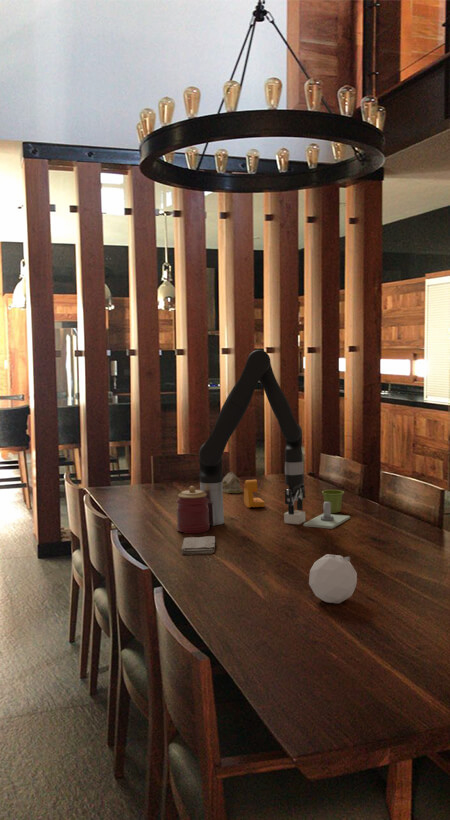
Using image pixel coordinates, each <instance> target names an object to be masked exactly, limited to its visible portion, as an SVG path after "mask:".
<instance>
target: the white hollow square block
mask: <svg viewBox="0 0 450 820" xmlns="http://www.w3.org/2000/svg"><path fill="white" fill-rule="evenodd" d="M283 516H284V517H283V519H284V520H283V521H284V522H283V523H284V524H289V525H290V524H291V525H301V524H304V523H306V511H305V510H294V514H293V515H291V514H289V513H288V511H287V512H284V514H283Z"/></svg>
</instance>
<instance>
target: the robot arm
mask: <svg viewBox="0 0 450 820" xmlns="http://www.w3.org/2000/svg"><path fill="white" fill-rule="evenodd" d="M271 363H272V362H271V357H270V355H269V354H268V353H267V351H265V350H262V349H256V350H253V351H252V352H250V353H249V355H248V357H247V359H246V363H245V365H244V367H243V370H242V372H241V375H240V377H239V378H238V380H237V382H236V383H235V385H234V386H233V387H232V389H231V391H230V392H229V394H228V395H227V397H226V399H225V401H224V403H223V405H222V407H221V409H220V411H219V413H218V416H217V419H216V422H215V424H214V428H213V430H212V432H211V433H210V435H209V437H208V439H206V441H205V442H204V443H203V444H202V445H201V446H200V447H199V452H198V462H199V486H200V487H199V490H201V491H203V492H204V493H206V494H207V495H206V498H208V499H209V502H208V507H209V523H210V525H211V526H212V527H214V526H219V525H223V524H224V522H225V521H224V520H225V518H224V516H225V515H224V514H225V513H224V493H223V478H224V476H223V455H224V452H225V449H226V447H227V445H228V442H229V439H231V437H232V436H233V434H234V432H235V430H236V429H237V428H238V426H239V424H240V422H241V420H242V419H243V418H244V415H245V414H246V411H247V410H248V408H249V405H250V402H251V401H252V398H253V395H254V393H255V389H256V387H257V385H258V384H259V382H260V384H261V386H262V389H263V390H264V394H265V396H266V398H267V401H268V403H269V406H270V408H271V410H272V413H273V415H274V416H275V418H276V420H277V423H278V425H279V428H280V431H281V434H282V435H283V438H284V439H285V448H284V483H285V485H286V486H288V489H284V504H285V505H287V512H288V513H289V514H291V515H293V514H294V511H295V505H294V504H295V502H296V509H297V510H296V511H304V510H303V508H304V507H303V501H304V499H305V498H306V492H305V491H306V490H305V489H306V488H305V484H304V483H305V478H304V477H305V476H304V474H305V473H304V462H303V449H302V445H303V430H302V427H301V425H299V424H298V423H297V422H296V420H295V419H296V418H295V417H294V415H293V414H294V413H293V410H292V408H291V406H290V403H289V401H288V399H287V397H286V396H285V393H284V392H283V390H282V388H281V387H280V384H279V383H278V380H277V378H276V376H275V374H274V371H273V367H272V364H271ZM211 526H210V527H211Z"/></svg>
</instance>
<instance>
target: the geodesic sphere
mask: <svg viewBox="0 0 450 820" xmlns="http://www.w3.org/2000/svg"><path fill="white" fill-rule="evenodd" d="M350 561H351V556H345V557H343V555H339V554H337V555H336V554H327V553H326V554H325V555H324V556H322V557H320V558H319V559H317V560H316V561H315V562H314V563H313V565H312V566H311V568H310V570H309V579H308V586H309V587H310V589H311V590H312V592H313V594H314V595H315V597H316V598H318V599H320V600H322V601H324V602H325V603H329V604H332V603H333V604H341V603H342V602H344V601H345V600H347V599H349V598H350V597H352V596H353V593H354V592H355V590H356V587H357V581H358V580H357V579H358V573H357V571H356V569H355V568H354V565H352V563H351V562H350Z"/></svg>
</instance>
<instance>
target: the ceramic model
mask: <svg viewBox="0 0 450 820" xmlns="http://www.w3.org/2000/svg"><path fill="white" fill-rule="evenodd" d="M240 485H241V481H240V479H239V478H238V476H237V475H235V473H234V471H230V472H228V473H227V474H225V476H223V492H226V493H225V494H227V493H236V494H241V493H244V491H243V488H242V487H241V486H240Z"/></svg>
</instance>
